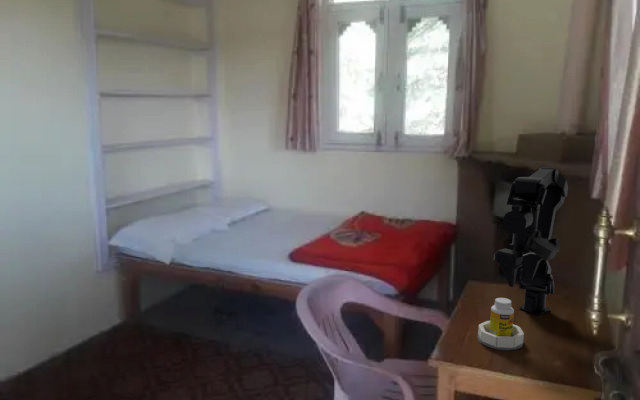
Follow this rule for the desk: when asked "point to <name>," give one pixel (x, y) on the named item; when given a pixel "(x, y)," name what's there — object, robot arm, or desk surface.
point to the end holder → (500, 338)
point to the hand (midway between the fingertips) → (521, 283)
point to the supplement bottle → (501, 318)
